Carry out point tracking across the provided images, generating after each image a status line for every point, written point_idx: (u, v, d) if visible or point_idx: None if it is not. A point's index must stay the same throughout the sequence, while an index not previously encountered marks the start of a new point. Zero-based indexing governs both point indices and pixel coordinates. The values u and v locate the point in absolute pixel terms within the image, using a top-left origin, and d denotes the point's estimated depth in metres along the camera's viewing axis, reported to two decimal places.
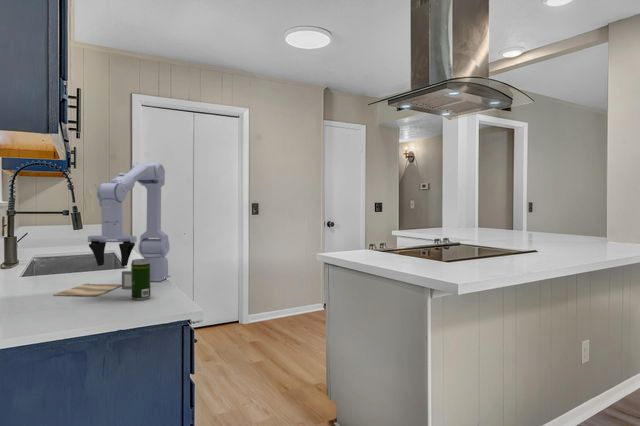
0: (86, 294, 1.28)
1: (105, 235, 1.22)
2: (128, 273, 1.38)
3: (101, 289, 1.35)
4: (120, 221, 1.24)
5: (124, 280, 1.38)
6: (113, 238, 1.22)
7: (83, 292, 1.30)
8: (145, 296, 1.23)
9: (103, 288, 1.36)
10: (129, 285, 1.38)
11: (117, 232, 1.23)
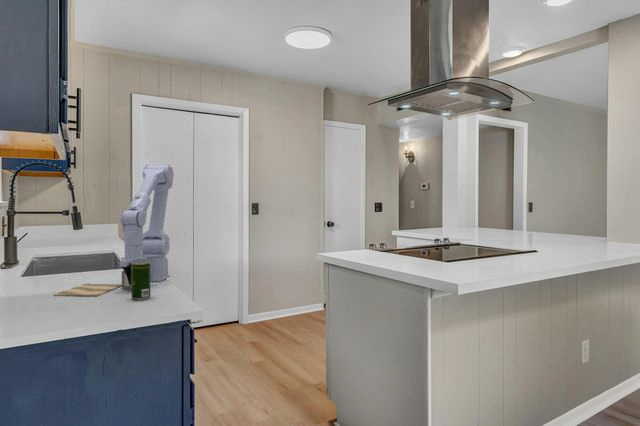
0: (86, 294, 1.28)
1: None
2: None
3: (101, 289, 1.35)
4: (129, 245, 1.35)
5: (124, 280, 1.38)
6: None
7: (83, 292, 1.30)
8: (145, 296, 1.23)
9: (103, 288, 1.36)
10: (129, 285, 1.38)
11: (126, 254, 1.36)
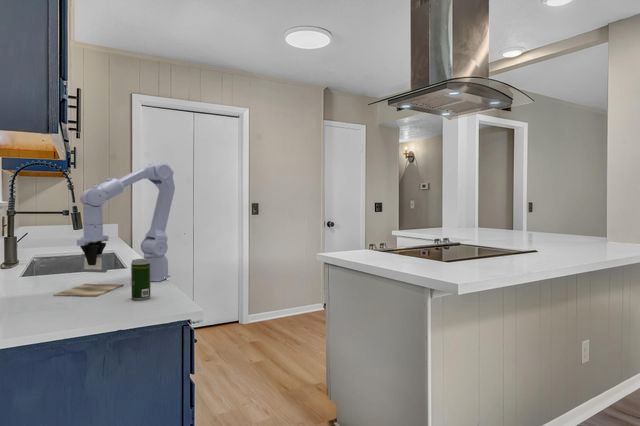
0: (86, 294, 1.28)
1: None
2: None
3: (101, 289, 1.35)
4: (87, 224, 1.33)
5: (84, 263, 1.36)
6: None
7: (83, 292, 1.30)
8: (145, 296, 1.23)
9: (103, 288, 1.36)
10: (89, 268, 1.36)
11: (84, 234, 1.34)
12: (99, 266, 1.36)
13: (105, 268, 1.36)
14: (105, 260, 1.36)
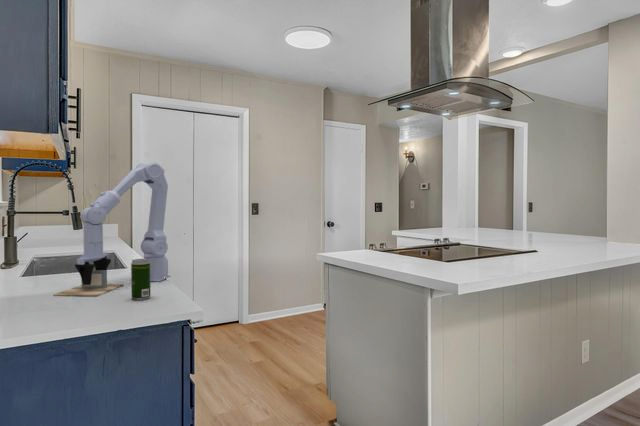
0: (86, 294, 1.28)
1: None
2: None
3: (101, 289, 1.35)
4: (87, 242, 1.34)
5: None
6: None
7: (83, 292, 1.30)
8: (145, 296, 1.23)
9: None
10: None
11: (85, 252, 1.34)
12: (99, 282, 1.36)
13: (105, 284, 1.37)
14: (105, 276, 1.37)
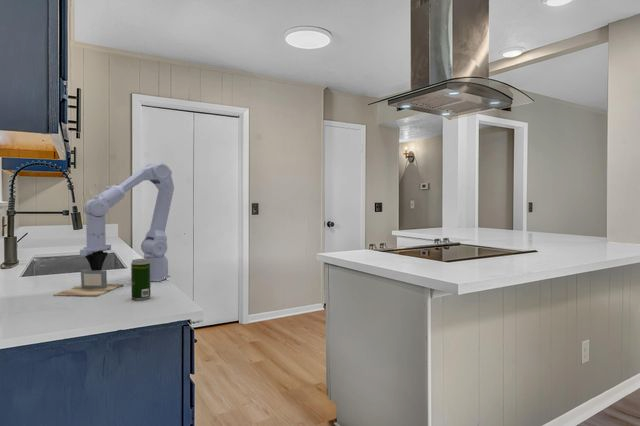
0: (86, 294, 1.28)
1: None
2: (87, 272, 1.36)
3: (101, 289, 1.35)
4: (90, 234, 1.35)
5: (84, 279, 1.36)
6: None
7: (83, 292, 1.30)
8: (145, 296, 1.23)
9: None
10: (89, 284, 1.36)
11: (87, 244, 1.36)
12: (99, 282, 1.36)
13: (105, 284, 1.37)
14: (104, 276, 1.36)
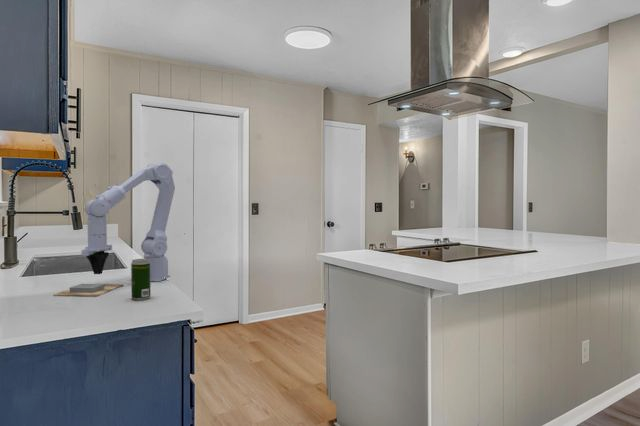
0: (86, 294, 1.28)
1: None
2: (77, 291, 1.31)
3: None
4: (91, 234, 1.36)
5: None
6: None
7: None
8: (145, 296, 1.23)
9: None
10: None
11: (89, 244, 1.36)
12: None
13: (102, 287, 1.35)
14: (97, 289, 1.32)
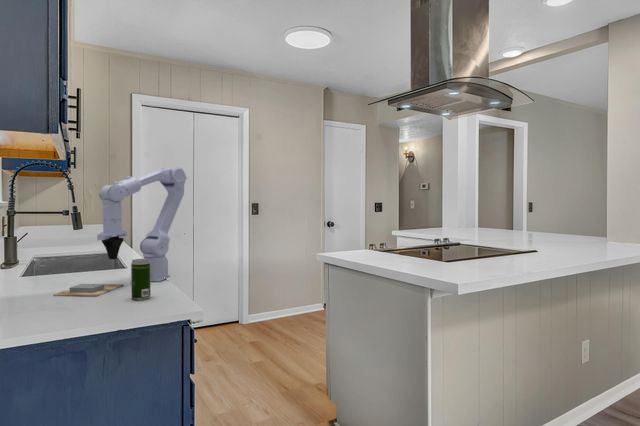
0: (86, 294, 1.28)
1: None
2: (77, 291, 1.31)
3: None
4: (107, 219, 1.36)
5: None
6: None
7: None
8: (145, 296, 1.23)
9: None
10: None
11: (104, 229, 1.37)
12: None
13: (102, 287, 1.35)
14: (97, 289, 1.32)
